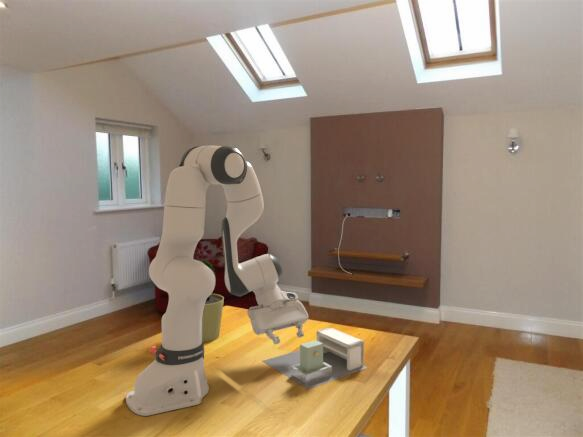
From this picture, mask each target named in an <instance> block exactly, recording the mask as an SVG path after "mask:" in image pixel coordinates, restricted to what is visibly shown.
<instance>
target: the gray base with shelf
mask: <svg viewBox="0 0 583 437" xmlns="http://www.w3.org/2000/svg"><path fill="white" fill-rule="evenodd" d="M316 340H317V341H319V342H321V343H323V362H325V363H327V364H329V365H331V366H332V376H330V377H327V378H324V379H322V380H319V381H316V382H313V383H310V384H307V385H305V384H303V383H301V382H300V381H298V380H296V379H295V378H293V377H291V367H292V366H295V365H298V364H300V349H298V350H295V351H291V352H288V353H285V354H282V355H278V356H275V357H272V358H268V359H264V360H262V363H264V364H266V365H268V366H269V367H270V368H272V369H274V370H276V371H277V372H279V373H281V374H283V375H284V376H285V377H287V378H289V379H291V380H292V381H294V382H295V383H297V384H299V385H301V386H302V387H303V388H306V389H307V390H311V389H314V388H316V387H319V386H322V385H325V384H328V383H331V382H333V381H336V380H339V379H341V378H343V377H346V376H350V375H352V374H354V373H358V372H360V371H363V370H366V369H368V368H369V367H367V366H365V365H364V360H365V359H364V354H365V350H364V348H365V341H364V340H362V339H360V338H358V337H356V336H355V337H354V336H352V335H351V334H347V333H346V332H342V331H341V330H338V329H335V328H332V327H326V328H322V329H319V330H316Z"/></svg>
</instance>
